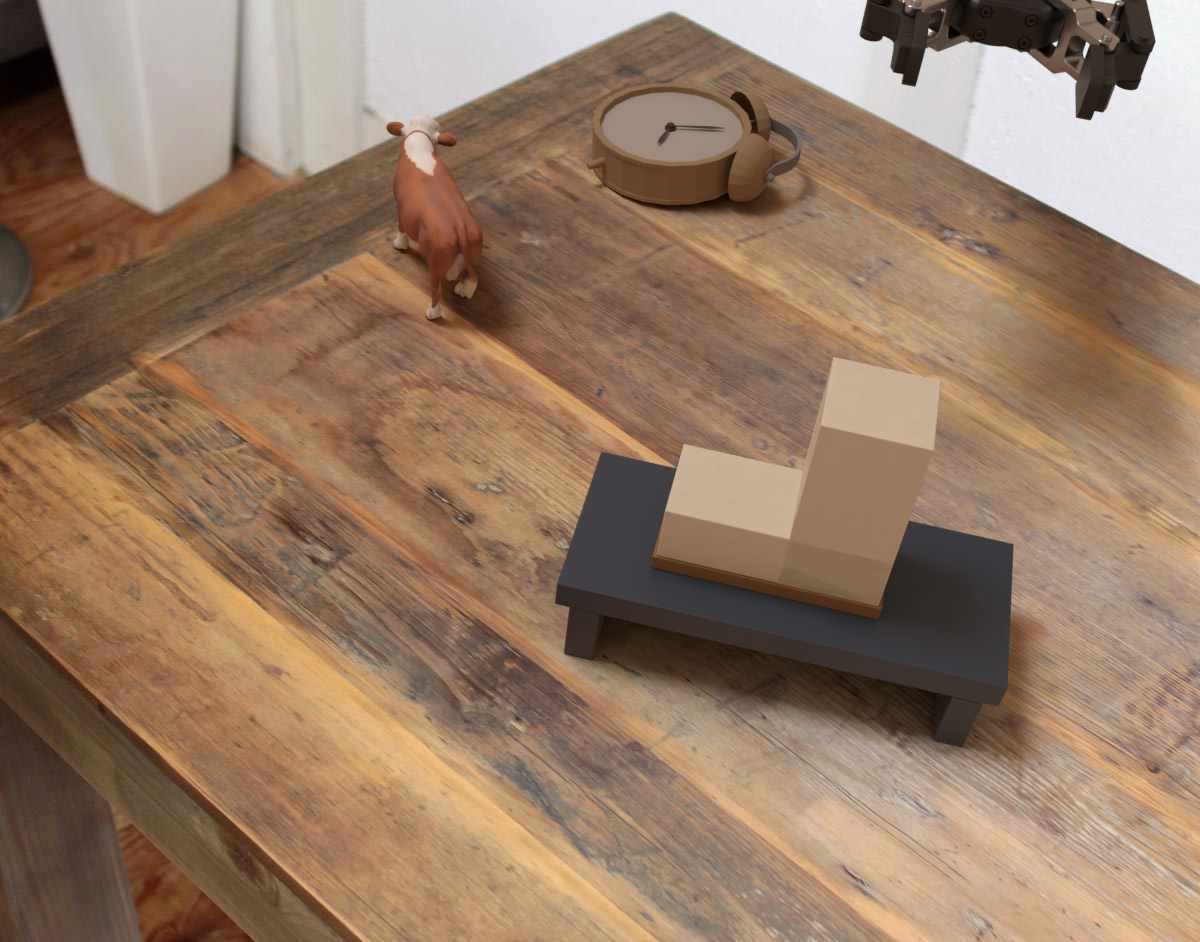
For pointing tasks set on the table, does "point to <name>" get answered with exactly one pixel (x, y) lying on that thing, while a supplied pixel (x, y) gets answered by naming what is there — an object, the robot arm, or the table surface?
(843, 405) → the boot
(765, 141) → the alarm clock
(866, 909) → the table surface
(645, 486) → the dark grey low platform
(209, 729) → the table surface
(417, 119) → the bull figurine
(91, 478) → the table surface
